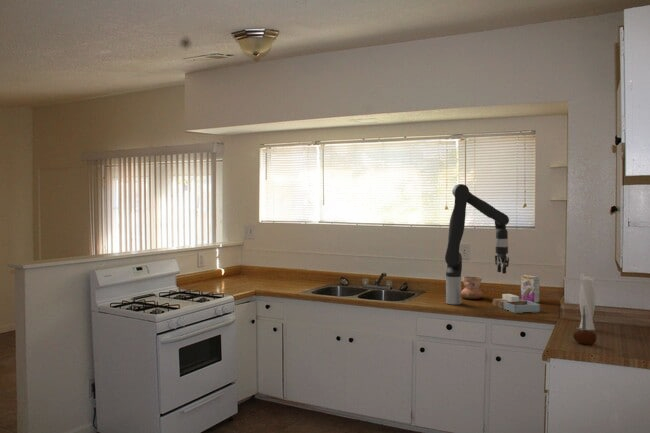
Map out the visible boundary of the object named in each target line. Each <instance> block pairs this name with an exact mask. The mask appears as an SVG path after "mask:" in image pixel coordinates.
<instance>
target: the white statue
mask: <svg viewBox="0 0 650 433" xmlns="http://www.w3.org/2000/svg"><path fill="white" fill-rule="evenodd" d="M579 280H580V288H579V296H578V302H579V310H580V317H581V319H580V323H579V327H576V329H577V330H578V331H580V330H589V331H591V332H597V330H596V328H595V324H594V321H593V317H594V313H595V308H596V292H595V291H596V290H595V285H594V282H595V276H593V277H591V276H585V273H584V272H583V273H581V274H580V278H579Z"/></svg>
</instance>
